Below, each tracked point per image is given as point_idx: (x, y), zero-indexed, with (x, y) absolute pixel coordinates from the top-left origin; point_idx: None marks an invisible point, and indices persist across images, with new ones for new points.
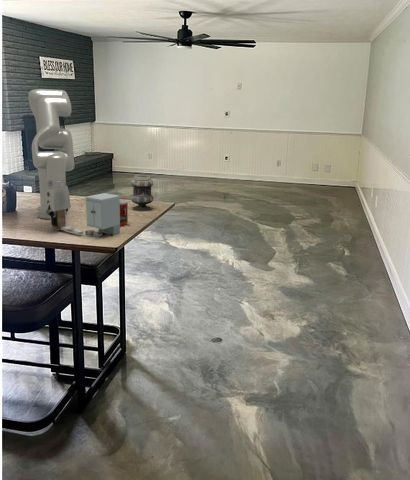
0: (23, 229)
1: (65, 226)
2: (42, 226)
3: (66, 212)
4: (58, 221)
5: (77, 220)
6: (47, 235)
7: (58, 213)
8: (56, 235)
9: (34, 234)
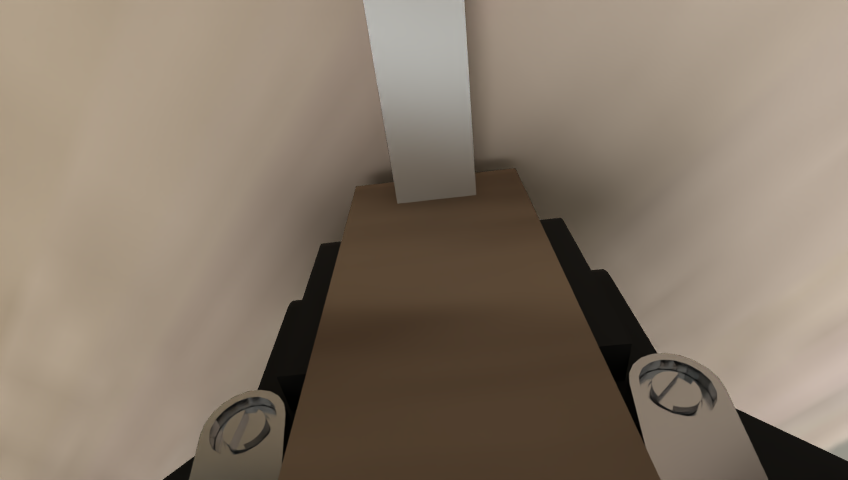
0: None
1: (391, 145)
2: None
3: (181, 466)
4: (540, 256)
5: (22, 408)
6: (750, 119)
7: (602, 441)
8: (678, 7)
9: (779, 273)
